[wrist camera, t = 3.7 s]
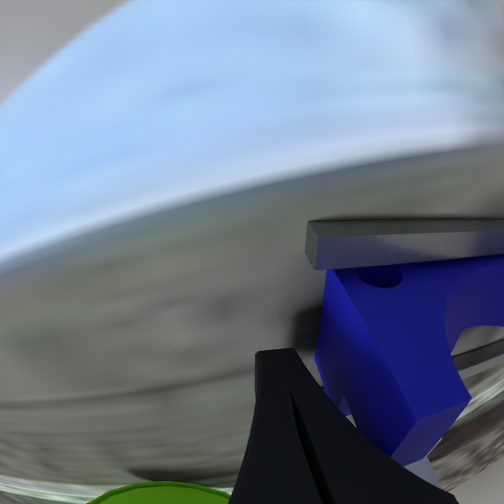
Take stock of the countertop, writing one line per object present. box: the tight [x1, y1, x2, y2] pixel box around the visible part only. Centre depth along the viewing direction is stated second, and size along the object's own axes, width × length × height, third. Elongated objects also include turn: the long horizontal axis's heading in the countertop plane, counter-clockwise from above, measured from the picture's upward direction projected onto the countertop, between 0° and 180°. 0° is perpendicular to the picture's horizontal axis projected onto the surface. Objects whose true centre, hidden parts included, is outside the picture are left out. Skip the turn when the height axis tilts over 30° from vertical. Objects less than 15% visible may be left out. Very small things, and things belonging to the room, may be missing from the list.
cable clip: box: [314, 254, 504, 467], centre depth 9 cm, size 12×4×6 cm, turn 91°
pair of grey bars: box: [305, 219, 504, 395], centre depth 12 cm, size 9×14×1 cm, turn 89°
